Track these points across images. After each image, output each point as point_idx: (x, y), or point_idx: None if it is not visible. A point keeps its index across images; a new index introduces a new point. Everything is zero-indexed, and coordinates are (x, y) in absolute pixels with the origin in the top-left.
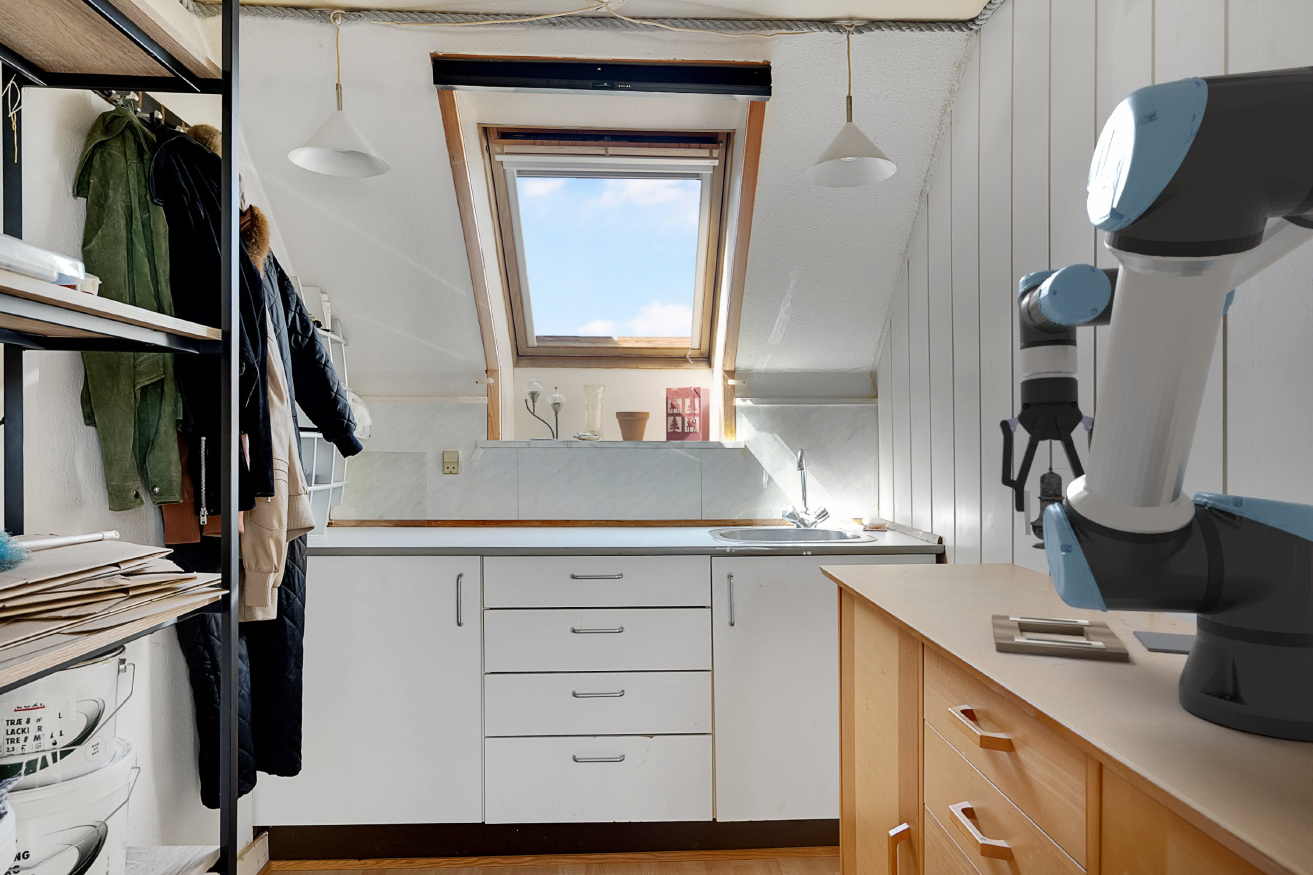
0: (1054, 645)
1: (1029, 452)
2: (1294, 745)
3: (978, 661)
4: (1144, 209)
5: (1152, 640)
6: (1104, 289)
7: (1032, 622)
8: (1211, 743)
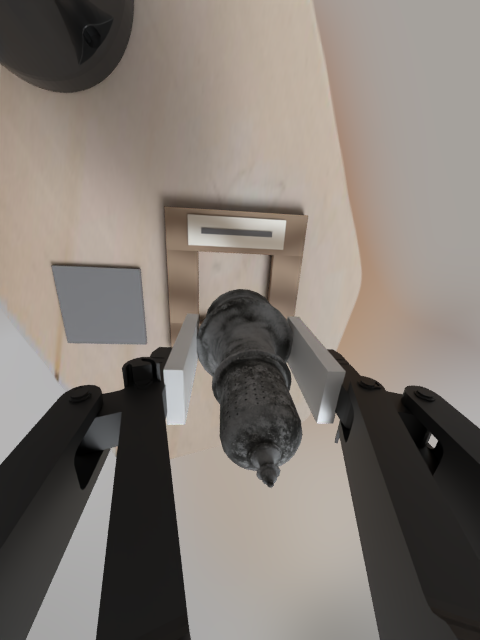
0: (243, 218)
1: (448, 549)
2: None
3: (333, 155)
4: None
5: (131, 305)
6: None
7: None
8: None
